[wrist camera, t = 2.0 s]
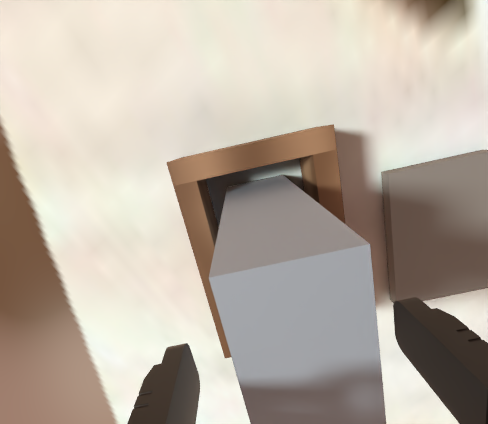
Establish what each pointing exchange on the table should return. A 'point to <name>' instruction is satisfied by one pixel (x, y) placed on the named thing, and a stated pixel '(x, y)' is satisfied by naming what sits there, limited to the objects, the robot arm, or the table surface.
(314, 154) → the frame
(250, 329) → the block
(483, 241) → the pad
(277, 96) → the table surface
